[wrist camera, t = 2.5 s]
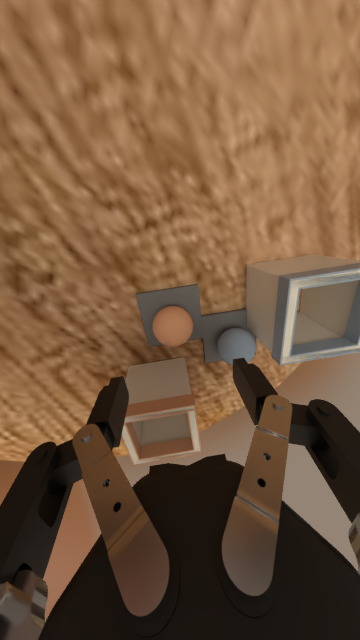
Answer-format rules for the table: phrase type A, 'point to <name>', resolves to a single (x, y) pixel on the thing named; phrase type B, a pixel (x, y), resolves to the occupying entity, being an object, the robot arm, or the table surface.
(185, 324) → the ball terracotta
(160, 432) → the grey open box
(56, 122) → the table surface
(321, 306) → the tube slate rim
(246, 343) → the ball slate
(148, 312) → the coasters
